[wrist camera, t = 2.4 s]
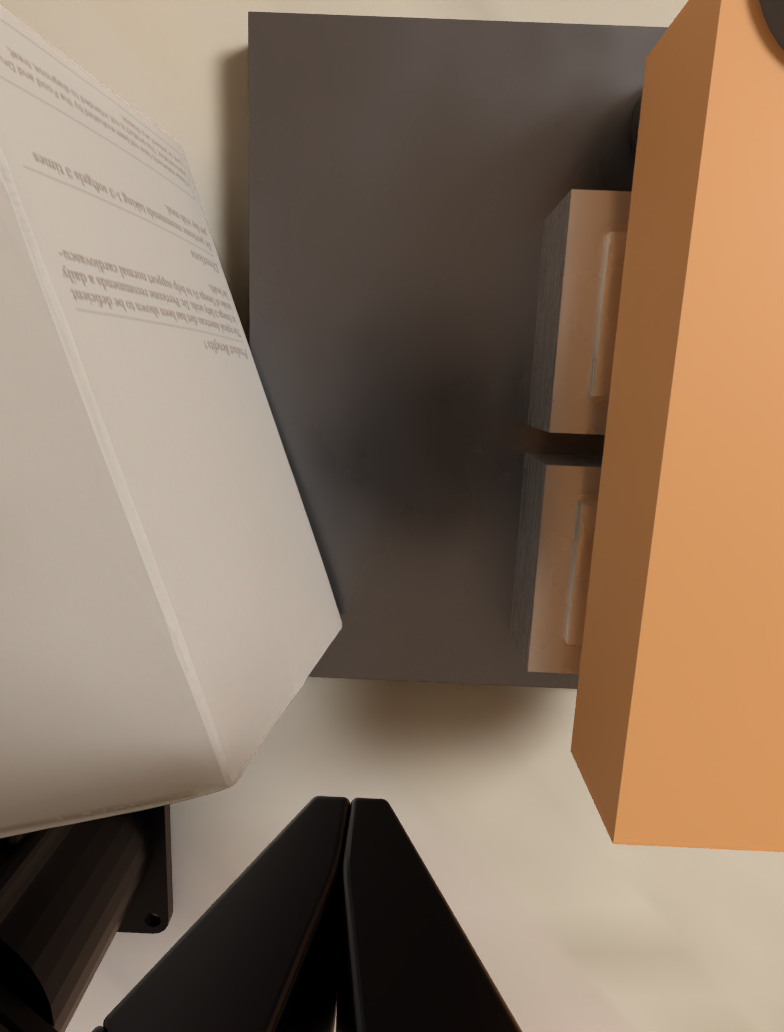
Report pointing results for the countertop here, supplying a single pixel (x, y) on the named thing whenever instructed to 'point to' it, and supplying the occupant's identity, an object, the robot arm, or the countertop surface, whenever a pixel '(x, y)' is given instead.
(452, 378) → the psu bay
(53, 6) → the countertop surface
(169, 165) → the supplement box
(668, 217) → the swing arm
